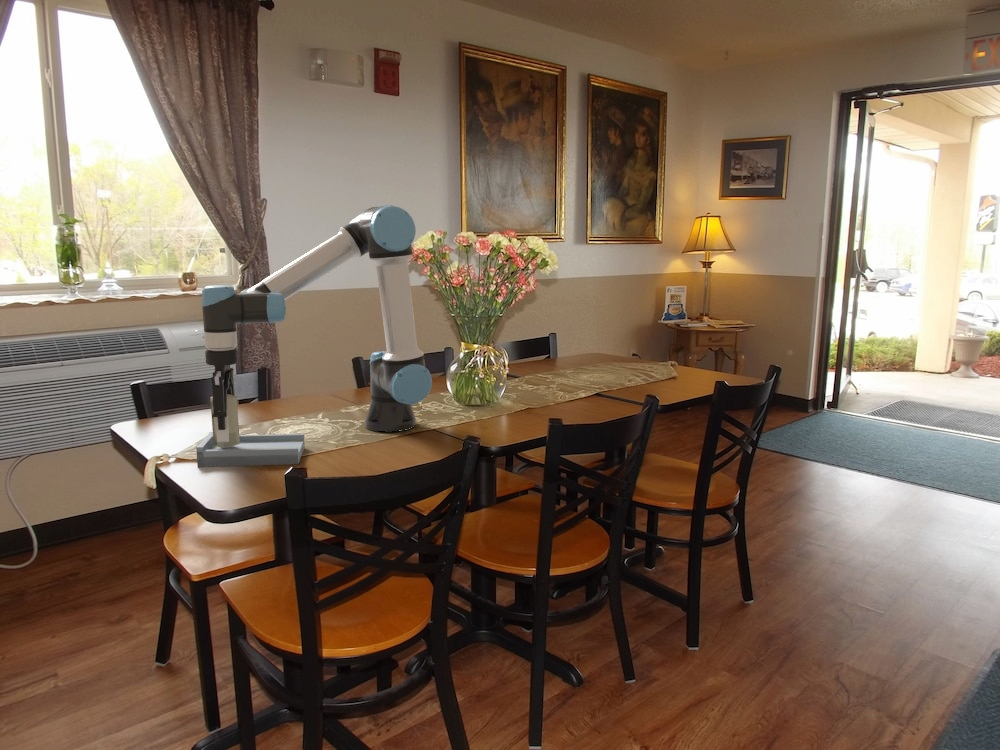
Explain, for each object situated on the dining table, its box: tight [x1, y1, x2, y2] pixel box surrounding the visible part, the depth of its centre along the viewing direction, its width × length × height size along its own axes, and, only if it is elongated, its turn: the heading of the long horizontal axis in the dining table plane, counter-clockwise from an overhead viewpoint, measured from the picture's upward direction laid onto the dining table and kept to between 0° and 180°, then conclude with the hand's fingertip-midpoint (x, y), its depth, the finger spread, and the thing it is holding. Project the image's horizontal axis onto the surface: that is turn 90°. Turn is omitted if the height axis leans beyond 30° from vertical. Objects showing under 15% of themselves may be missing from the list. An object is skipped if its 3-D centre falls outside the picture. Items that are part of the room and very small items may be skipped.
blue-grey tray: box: [195, 431, 306, 468], centre depth 184 cm, size 24×14×5 cm, turn 99°
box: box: [209, 394, 240, 448], centre depth 181 cm, size 5×4×13 cm
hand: (226, 437), depth 182 cm, fingers closed on box, 6 cm apart
